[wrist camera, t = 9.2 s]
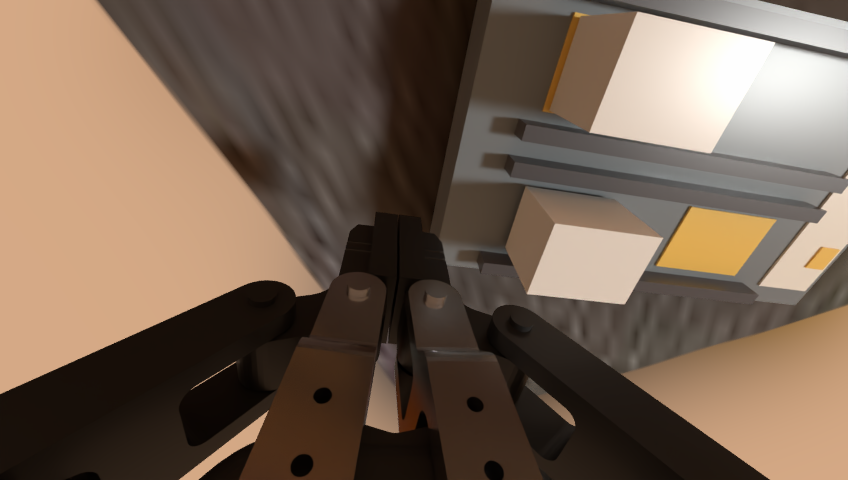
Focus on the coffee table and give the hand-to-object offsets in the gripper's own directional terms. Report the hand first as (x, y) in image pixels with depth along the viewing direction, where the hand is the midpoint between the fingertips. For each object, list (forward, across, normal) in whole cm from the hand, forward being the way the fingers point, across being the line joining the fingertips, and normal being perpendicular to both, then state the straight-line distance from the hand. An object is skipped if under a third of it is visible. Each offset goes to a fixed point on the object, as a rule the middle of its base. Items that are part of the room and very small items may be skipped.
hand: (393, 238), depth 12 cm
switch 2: (+3, -7, 0) cm, 8 cm away
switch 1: (+3, -7, -6) cm, 10 cm away
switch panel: (+6, -12, -3) cm, 14 cm away
